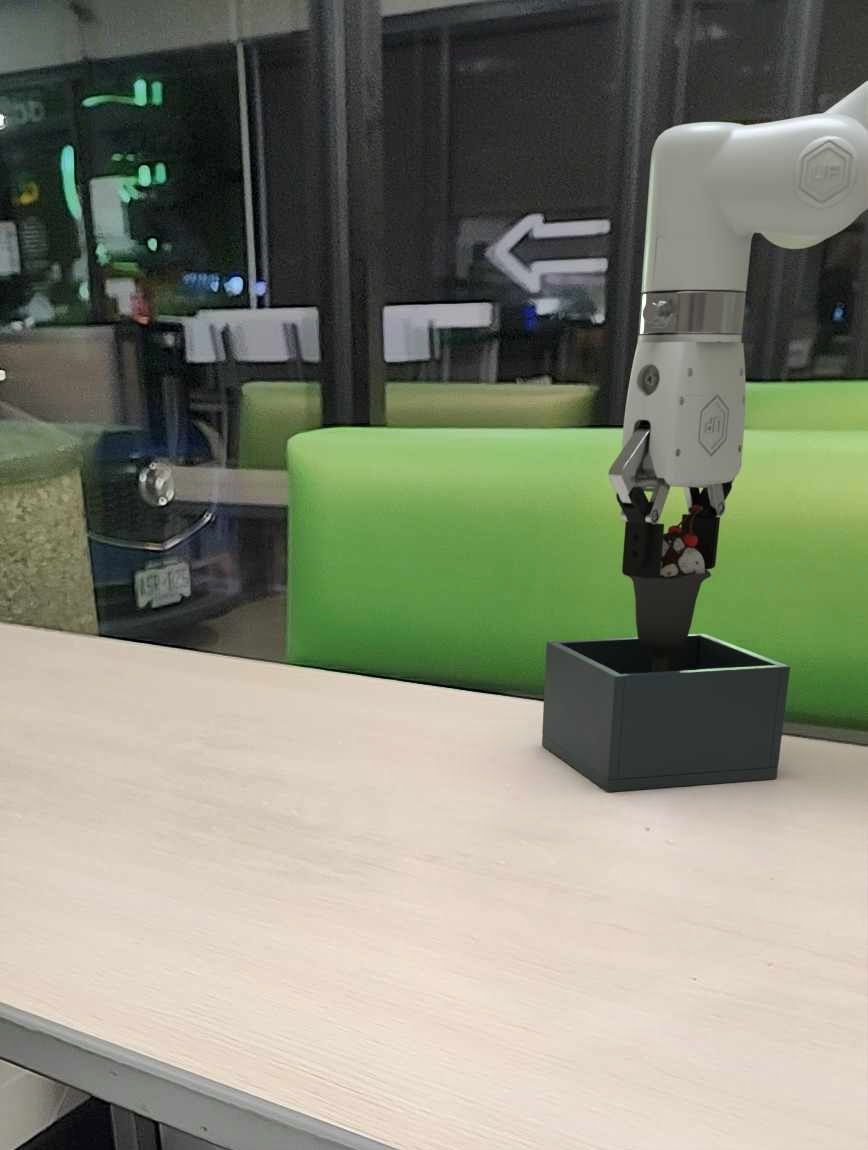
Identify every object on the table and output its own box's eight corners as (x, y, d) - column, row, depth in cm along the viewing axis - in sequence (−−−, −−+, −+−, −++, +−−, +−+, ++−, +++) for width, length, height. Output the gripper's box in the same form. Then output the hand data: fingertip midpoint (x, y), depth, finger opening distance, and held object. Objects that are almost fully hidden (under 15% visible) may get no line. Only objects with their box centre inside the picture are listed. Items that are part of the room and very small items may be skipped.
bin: (694, 734, 119) (704, 633, 116) (776, 779, 106) (790, 666, 103) (541, 745, 116) (546, 641, 112) (607, 792, 103) (615, 676, 99)
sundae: (716, 699, 108) (736, 505, 102) (657, 709, 105) (674, 510, 99) (657, 684, 113) (673, 499, 107) (599, 694, 110) (612, 503, 104)
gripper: (664, 317, 90) (643, 588, 97) (797, 323, 101) (769, 566, 108) (576, 320, 95) (562, 578, 102) (712, 325, 106) (691, 557, 113)
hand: (669, 570), depth 105 cm, fingers closed on sundae, 6 cm apart
